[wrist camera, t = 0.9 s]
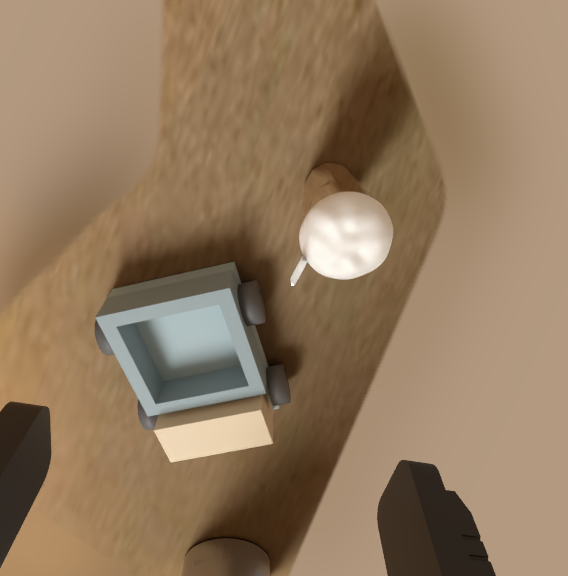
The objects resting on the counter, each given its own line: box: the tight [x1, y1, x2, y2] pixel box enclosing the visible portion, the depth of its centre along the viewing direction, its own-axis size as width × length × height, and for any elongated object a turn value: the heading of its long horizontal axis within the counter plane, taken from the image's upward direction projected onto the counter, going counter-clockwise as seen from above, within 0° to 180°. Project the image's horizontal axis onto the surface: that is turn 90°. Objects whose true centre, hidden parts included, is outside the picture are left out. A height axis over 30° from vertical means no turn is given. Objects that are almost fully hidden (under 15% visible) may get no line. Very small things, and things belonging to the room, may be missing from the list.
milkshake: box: [290, 162, 393, 287], centre depth 25 cm, size 4×5×10 cm
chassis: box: [95, 262, 290, 462], centre depth 34 cm, size 13×11×5 cm
